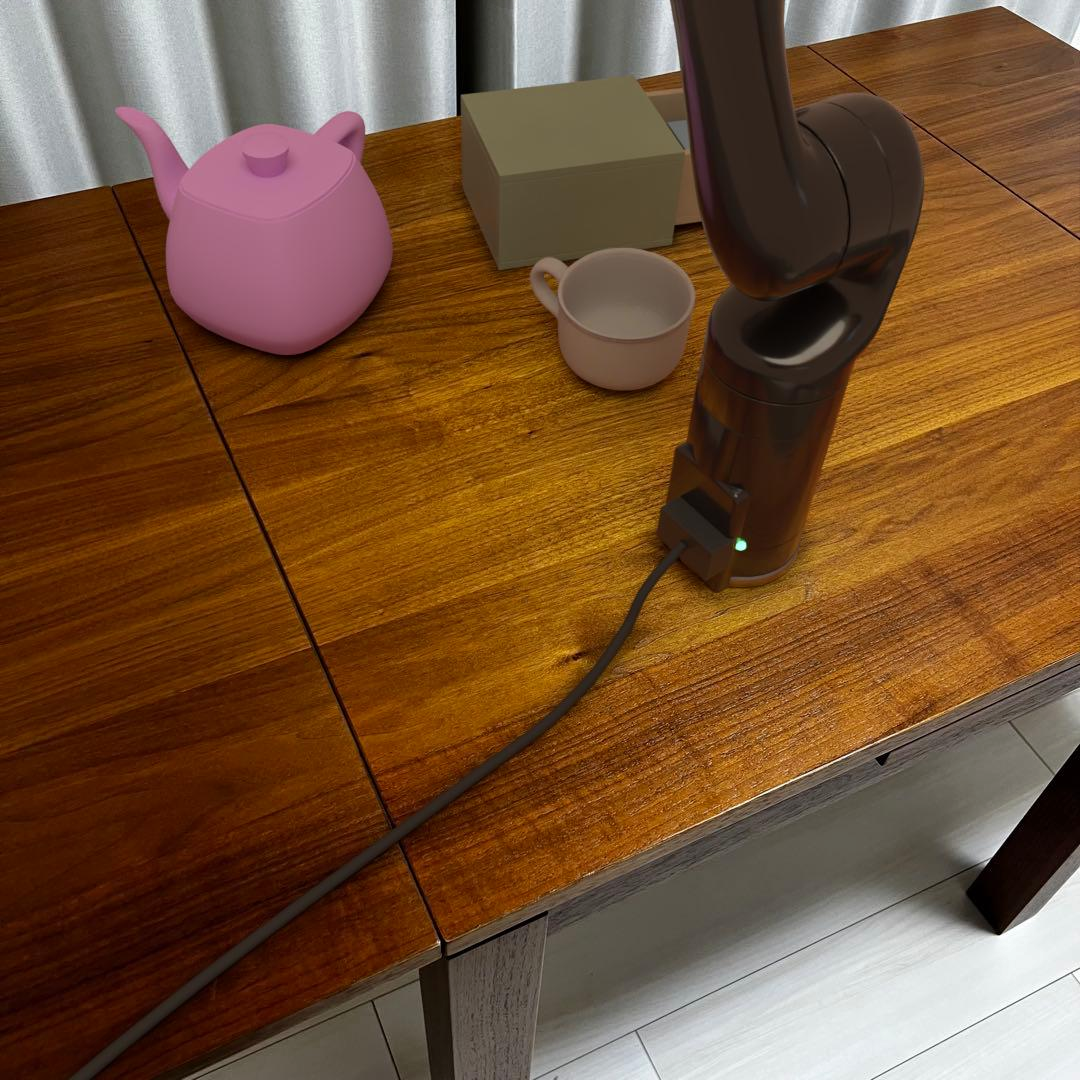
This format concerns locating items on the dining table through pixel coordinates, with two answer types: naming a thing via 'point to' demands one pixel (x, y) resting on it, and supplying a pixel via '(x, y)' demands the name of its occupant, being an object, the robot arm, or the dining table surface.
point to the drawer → (674, 110)
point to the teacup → (618, 315)
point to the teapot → (271, 231)
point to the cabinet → (569, 170)
